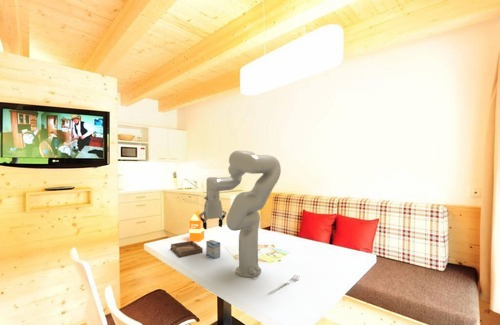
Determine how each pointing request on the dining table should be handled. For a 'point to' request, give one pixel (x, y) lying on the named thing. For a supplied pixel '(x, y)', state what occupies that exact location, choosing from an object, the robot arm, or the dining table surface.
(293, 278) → the fork
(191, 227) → the orange juice
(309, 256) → the dining table surface
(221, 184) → the robot arm
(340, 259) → the dining table surface
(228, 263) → the dining table surface
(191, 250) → the walnut tray
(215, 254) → the medicine box
